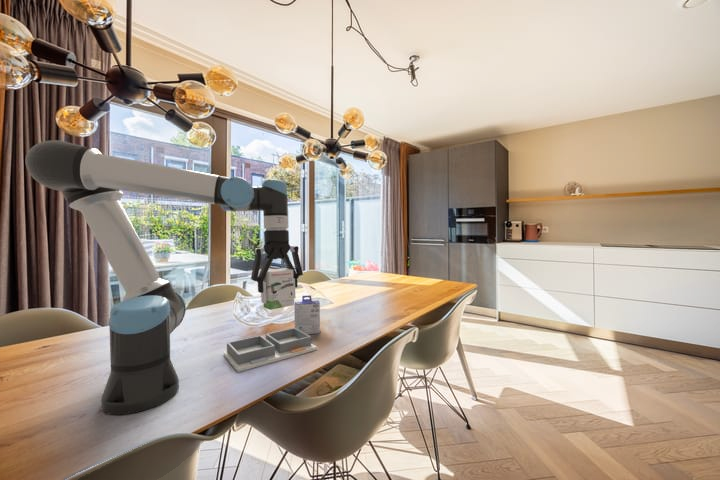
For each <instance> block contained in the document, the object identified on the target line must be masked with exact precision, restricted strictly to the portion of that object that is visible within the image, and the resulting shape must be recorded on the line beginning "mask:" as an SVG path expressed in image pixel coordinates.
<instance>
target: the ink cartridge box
mask: <svg viewBox="0 0 720 480" xmlns="http://www.w3.org/2000/svg"><path fill="white" fill-rule="evenodd" d="M301 298H302V299H301V301H294V328H296V329H298V330H300V331H302V332H304V333H305V334H307V335H313V334H314V335H315V334H321V333H320V331H321V321H320V320H321V319H320V318H321V313H320V311H321V303H320V300H317V299H316V300H312V295H302V297H301ZM306 298H307V299H306Z"/></svg>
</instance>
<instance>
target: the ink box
mask: <svg viewBox="0 0 720 480" xmlns="http://www.w3.org/2000/svg"><path fill="white" fill-rule="evenodd" d="M264 282H266V296H267V303H265V304H264V303H263V308H265V309H266V310H267V309H268V310H270V311H271V310H277V309H282V308H286V307H287V308H288V307H292V306H295V299H294V281H293V270H292V269H288V268H287V267H283V268H281V267H280V268H273V269H272V268H271V269H270V268H269V269H268V271H267V272H266V276H265V278H264Z"/></svg>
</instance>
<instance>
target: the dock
mask: <svg viewBox="0 0 720 480" xmlns="http://www.w3.org/2000/svg"><path fill="white" fill-rule="evenodd" d="M317 350H318V346H317V345H315V344H313V343H312V336H311V335H310V334H305V333H304V332H302V331H300V330H298V329H296V328H295V327H292V328H288V329H284V330H278V331H274V332H269V333H265V337H264V336H263V335H256V336H250V337H247V338H242V339H238V340H232V341H228V342H226V351H223V356H224V357H225V358H226V359H227V361H228V362H229V363H230V364H231V366H232V367H233V368H234V369H235V371H236V372H237V373H240V372H243V371H247V370H249V369H253V368H257V367H261V366H264V365H267V364H271V363H275V362H278V361H282V360H285V359H289V358H292V357H296V356H298V355H303V354H307V353H309V352H313V351H317Z"/></svg>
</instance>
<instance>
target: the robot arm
mask: <svg viewBox="0 0 720 480" xmlns="http://www.w3.org/2000/svg"><path fill="white" fill-rule="evenodd" d="M25 166H26V170H27V172H28V174H29V175H30V176H31V177H32V178H33V179H34V180H35V181H36V182H37V183H39V184H41V185H42V186H44V187H46V188H48V189H52V190H54V191H59V192H60V193H61V194H62V196H63V197H64V199H65V201H66V203H67V205H68V207H70V209H72V210H76V211H78V212H81V214H82V216H83V218H84V220H85V222H86V223H87V225H88V227H89V229H90V231H91V233H92V234H93V236H94V238H95V240H96V242H97V244H98V245H99V247H100V249H101V250H102V252H103V254H104V256H105V257H106V258H105V259H106V260H107V262H108V263H109V265H110V267H111V269H112V270H113V272H114V274H115V276H116V277H117V279H118V282H119V283H120V285H121V287H122V289H123V291H124V292H125V293H124V294H125V295H124V296H123V298H122V301H120V302H117V303H116V304H115V305H114V306H112V308H111V309H110V313H109V319H108V326H109V353H110V355H109V357H110V373H109V375H108V378H107V382H106V384H105V386H104V389H103V393H102V395H101V397H100V399H101V400H100V403H101V411H102V410H103V411H104V412H103V411H102V412H103V413H105V412H106V413H105V414H108V413H109V415H113V414H114V415H117V416H120V415H129V414H135V412H136V413H139V411H140V412H143V411H146V409H147V410H149V408H150V409H152V408H154V407H157V406H160V405H161V404H163V403H165V402H167V401H168V400H170V399H171V398H173V397H174V396H175V395H176V394H177V393H176V392H178V391H179V389H180V385H179V383H180V381H179V376H178V374H177V372H176V368H175V367H174V365H173V362H172V360H171V359H172V358H171V334H172V333H173V332H174V330H175V329H177V328H178V327H179V326H180V325H181V323H182V321H183V320H184V318H185V315H186V312H187V304H186V301H185V299H184V297H183V296H182V295H181V294H179V293H178V292H176V291H175V290H174V288H173V286H172V284H171V282H170V281H169V280H167V279H163V278H161V277H160V275H159V273H158V271H157V270H156V268H155V265H154V264H153V262H152V260H151V258H150V256H149V254H148V252H147V250H146V248H145V246H144V245H143V243H142V240H141V238H140V237H139V235H138V233H137V232H136V230H135V227H134V226H133V223H132V221H131V220H130V218H129V216H128V215H127V212H126V211H125V208H124V206H123V205H122V202H121V199H122V197H123V196H124V192H132V193H139V194H145V195H152V196H158V197H165V198H172V199H176V200H177V199H179V200H185V201H191V202H198V203H204V204H211V205H217V206H220V208H221V210H222V211H225V212H234V213H235V212H254V211H255V212H256V211H257V212H263V229H265V230H264V232H263V242H264V245H263V246H262V247H260V248H258V247H257V248H256V247H255V248H254V249H253V251H254V258H253V259H254V260H253V267H252V271H251V277H250V279H251V281H254V282H257V292H258V293H260V295H261V296H260V297H261V298H260V300H261V303H263V305H264V304H265V303H267V296H266V282H264V278H265V276H266V272H267V271H268V270H270V266H271V264H272V262H273V261H274V260H277V259H281V260H282V261H283V263H284V264H285V268H288V269H292V270H293V281H294V300H295V299H296V298H297V297H296V288H298V279H299V277H300V276H303V274H304V273H303V270H302V269H303V268H302V264H301V261H300V255H299V246H297V245H293V246H291V245H290V235H289V231H288V228H289V207H288V206H289V205H288V199H289V198H288V189H287V188H288V186H287V185H288V184H287V183H286V181H284V180H282V179H276V178H275V179H264V180H263V181H262V183H261V186H252V184H251V183H250V182H249V181H248V180H247V179H245V178H244V177H240V176H231V177H230V176H222V175H219V174H211V173H206V172H201V171H195V170H191V169H190V170H189V169H185V168H179V167H173V166H169V165H163V164H158V163H152V162H147V161H142V160H137V159H135V160H134V159H132V158H131V159H130V158H126V157H125V158H124V157H120V156H113V155H108V154H102V152H101V151H100V150H99V149H98V148H94V147H90V146H85V145H80V144H75V143H71V142H68V141H66V140H65V141H64V140H57V139H52V140H45V141H41V142H39V143H37V144H35V145H33V146H32V147H31V148H30V149H29V150H28V151H27V153H26V155H25ZM289 251H290V253H291V256H292V257H291V258H292V260H293V264H294V265H293V264H292V262H291V260H290V257H289V255H288V253H289ZM263 253H265V254H266V257H265V259H264V262H263V264H262V267H261V262H262V255H263ZM260 267H261V269H260ZM178 388H179V389H178ZM177 390H178V391H177ZM175 393H176V394H175ZM174 394H175V395H174ZM173 395H174V396H173ZM172 396H173V397H172Z"/></svg>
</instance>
